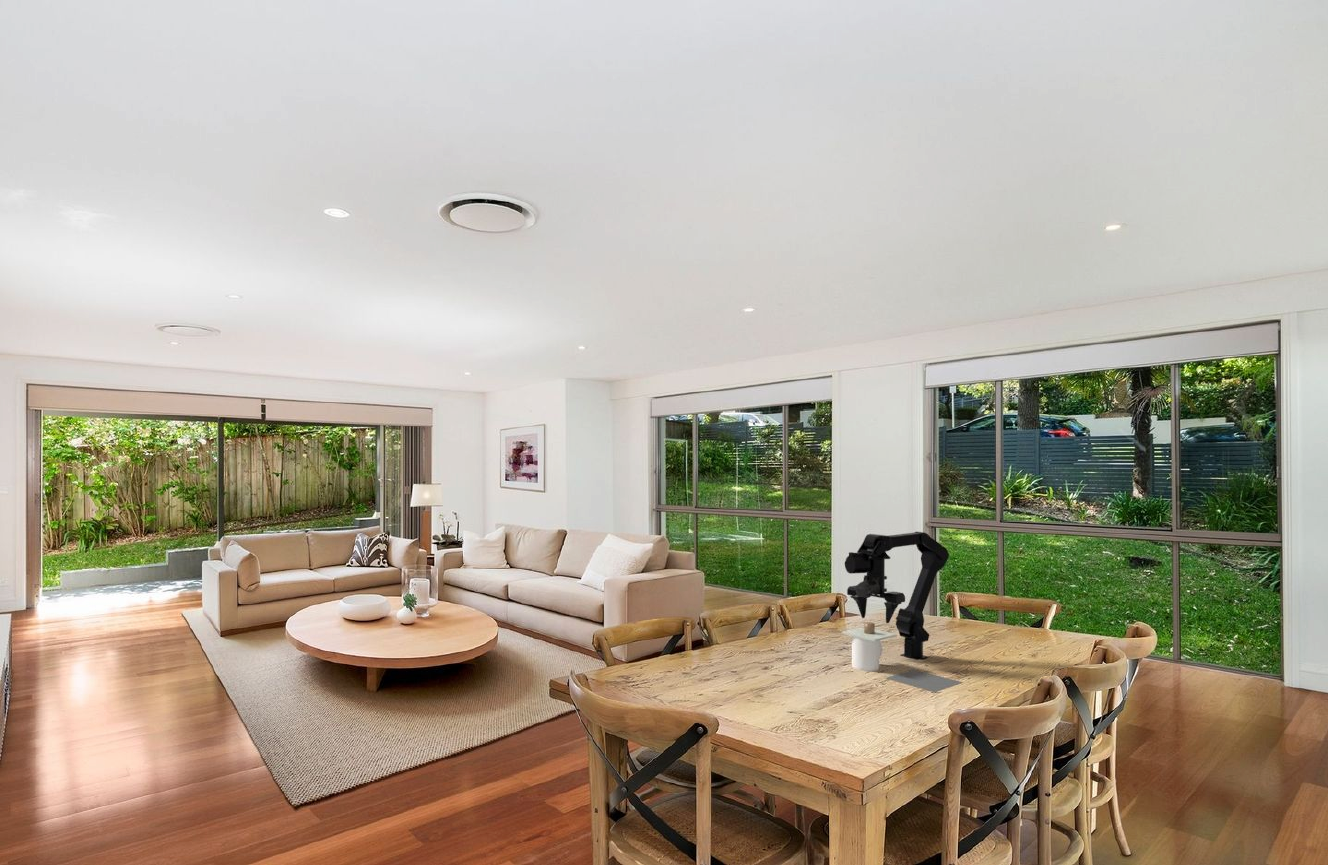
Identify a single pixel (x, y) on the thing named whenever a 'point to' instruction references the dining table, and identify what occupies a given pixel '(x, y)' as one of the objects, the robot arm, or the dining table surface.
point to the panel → (869, 633)
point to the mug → (866, 654)
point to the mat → (924, 680)
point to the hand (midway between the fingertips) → (875, 620)
